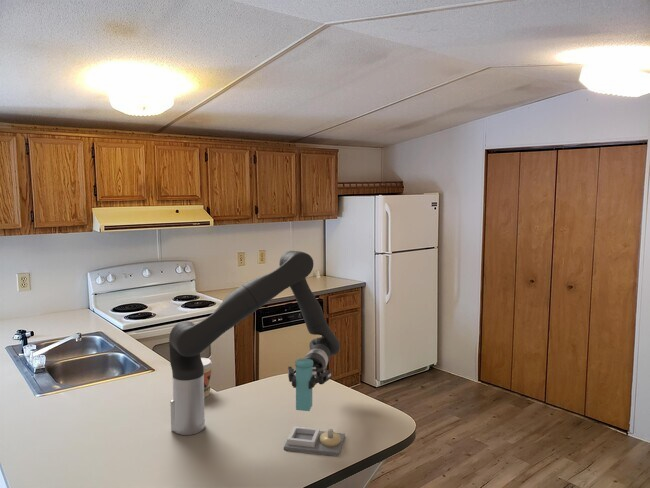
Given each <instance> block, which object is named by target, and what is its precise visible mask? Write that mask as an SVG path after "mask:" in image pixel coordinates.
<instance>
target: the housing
mask: <svg viewBox="0 0 650 488" xmlns="http://www.w3.org/2000/svg"><path fill="white" fill-rule="evenodd" d="M345 439H346V433H341V432H335V431H334V428H329V429H327V431H324V430H321V429H320V428H314V427H307V426H297V425H293V427H292V429H291V431H290V433H289V435H288V436H287V439H286V442H285V443H284V446H283V450H284V451H291V452H296V453H297V452H301V453H305V454H306V453H308V454H315V455H316V454H317V455H324V456H332V457H340V454H341V451H342V448H343V445H344V443H345V442H344V441H345Z"/></svg>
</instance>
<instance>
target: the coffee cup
mask: <svg viewBox="0 0 650 488" xmlns="http://www.w3.org/2000/svg"><path fill="white" fill-rule="evenodd" d="M201 360H202V363H203V367H204V398H206V397H209V395H210V394H211V384H212V383H211V382H212V366H213V363H212V360H211V359H209V358H207V357H201Z"/></svg>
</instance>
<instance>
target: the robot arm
mask: <svg viewBox="0 0 650 488" xmlns="http://www.w3.org/2000/svg"><path fill="white" fill-rule="evenodd" d="M313 269H314V259H313V257H312V256H311V255H310V254H309V253H307V252H303V251H300V250H299V251H298V250H289V251H286V252H284V253H283V254H282V255H281V257H280V258H279V267H277V268H276V269H274V270H272V271H271V272H269V273H267V274H264V275H262V276H259V277H256V278H254V279H252V280H250V281H247V282H246V283H244V284H241V285H240V286H239V287H237V288H236V289H234V290H232V291H231V292H230V293H229V294H228V295H226V297H224V299H223V301H221V303H220V304H219V306H217V308H216V309H215V310H214V311H213V312H212V313H211V314H210V315H208V316H207V317H205V318H204V319H203V320H201V321H199V322H197V323H193V322H192V321H186V320H184V321H180V322H177V323H176V324H175V325H174V326H173V327H172V328H171V331H170V333H169V341H168V347H169V359H170V360H169V362H170V367H171V371H172V372H171V373H172V399H171V400H170V405H169V406H170V431H171V432H173V433H176V434H177V435H180V436H181V435H182V436H191V435H195V434H198V433H200V432H202V431H203V430H204V429H205V427H206V425H205V420H206V418H205V415H206V414H205V397H204V367H203V363H202V360H201V358H202V356H201V353H202V352H203V351H204V350H206V349H207V348H208V347H209V346H210V345H212V343H214V342H215V341H216V340H217V339H219V338H220V336H222V335H223V334H224V333H226V332H227V331H229V330H230V329H232V328H233V327H235V326H236V325H238V324H239V323H240V322H241V321H243V320H245V319H246V318H247V317H249V316H251V315H252V314H254V313H255V312H256V311H258V310H259V309H260V308H262V307H263V306H265V305H266V304H267V303H269V302H270V301H271V300H273V299H274V298H276V297H277V296H278V295H279V294H281V293H282V292H283V291H285V290H287V289H289V288H290V289H291V291H292V294H293V295H294V298H295V299H296V302H297V304H298V307H299V309H300V312H301V315H302V317H303V320H304V323H305V326H306V329H307V331H308V333H309V334H310V335H313V336H315V335H318V336H320V337H317V338H313V339H312V340H311V341H310V342H309V347H308V348H309V351H308V352H307V353H306V355H305V356H304V358H306V359H311V360H313V368H312V377H311V379H310V381H309V389H312V390H313V388H315V386H316V385H317V384H318V385H323V384H325V383H326V382H328V381H329V380H331V379H332V370H331V369H327V368H328V367H327V366H328V363H329V361H330V359H331V357H332V356H336V355H337V354H339V352H340V350H341V345H340V341H339V340H338V337H337V335H336V334H335V333H334V332H333V330H332V329H331V328H330V326H329V324H328V323H327V320H326V317H325V314H324V312H323V309H322V306H321V304H320V302H319V301H318V299H317V298H316V296H315V294H314V293H313V291H312V290H311V287H310V286H309V284H308V281H307V277H309V276H310V274H311V273H312V272H313ZM326 369H327V370H326ZM287 375H288V381H289V382H290V383H291V386H292V388H295V389H296V368H294V367H293V366H288V367H287Z"/></svg>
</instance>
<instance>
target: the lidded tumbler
mask: <svg viewBox="0 0 650 488" xmlns="http://www.w3.org/2000/svg"><path fill="white" fill-rule="evenodd" d="M294 363H295V369H296V373H295V374H296V388H295V411H303V412H304V411H305V412H311V409H312V407H313V388H312V389H309V381H310V379H311V377H312V368H313V360H311V359H306V358H305V357H303V358H298V359H296V360H295V362H294Z"/></svg>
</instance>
